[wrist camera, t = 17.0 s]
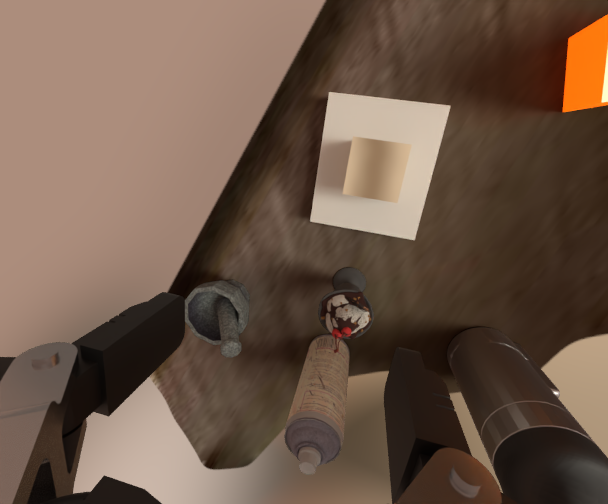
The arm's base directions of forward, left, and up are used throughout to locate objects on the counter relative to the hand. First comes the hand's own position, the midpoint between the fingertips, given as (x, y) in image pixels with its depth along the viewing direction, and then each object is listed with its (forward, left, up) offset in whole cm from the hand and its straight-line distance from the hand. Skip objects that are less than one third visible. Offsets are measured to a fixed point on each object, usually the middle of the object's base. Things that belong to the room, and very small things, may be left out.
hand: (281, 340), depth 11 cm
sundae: (-3, +11, -33) cm, 35 cm away
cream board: (-3, -6, -33) cm, 34 cm away
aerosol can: (-2, +24, -33) cm, 41 cm away
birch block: (-3, -6, -30) cm, 31 cm away
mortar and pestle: (+15, +18, -33) cm, 41 cm away
